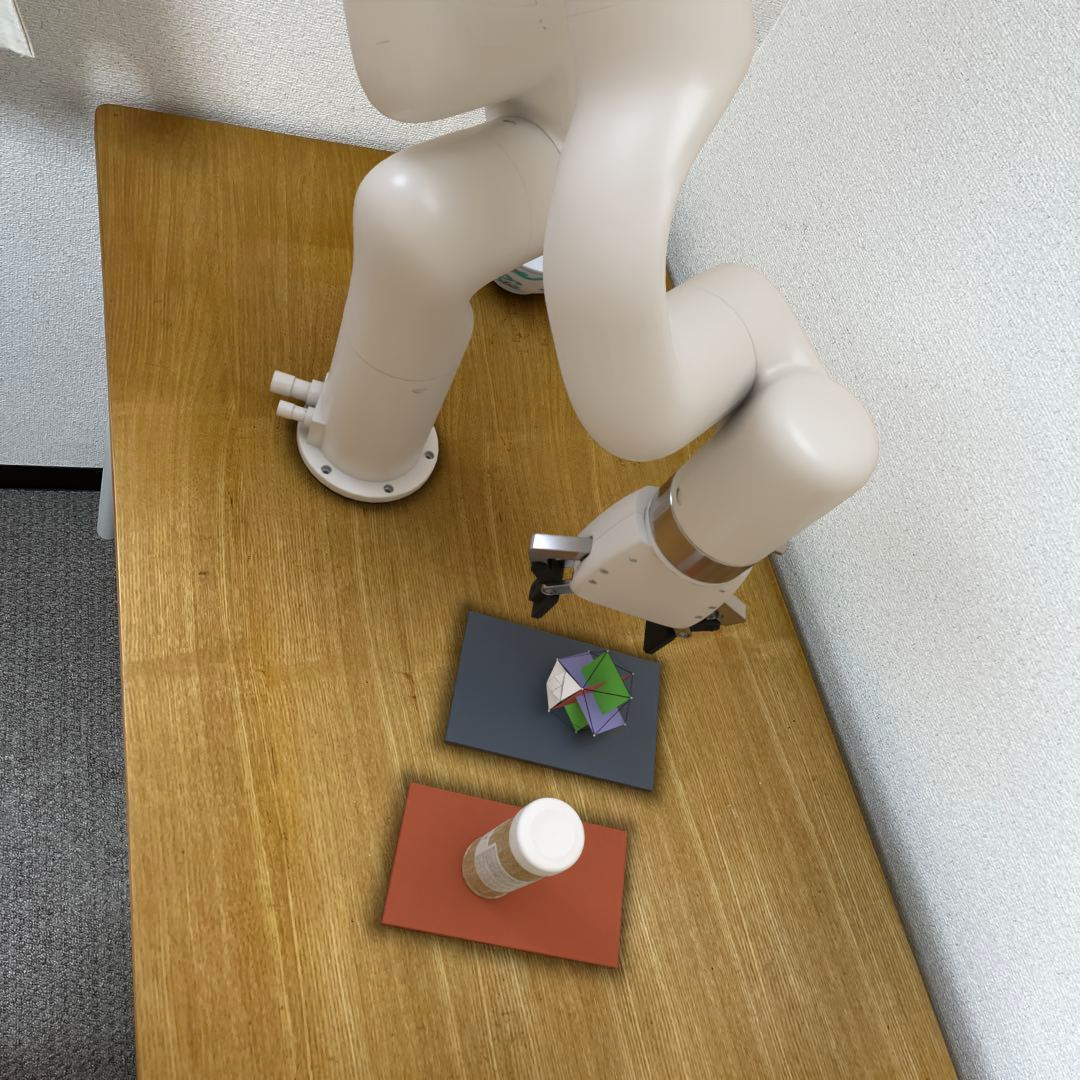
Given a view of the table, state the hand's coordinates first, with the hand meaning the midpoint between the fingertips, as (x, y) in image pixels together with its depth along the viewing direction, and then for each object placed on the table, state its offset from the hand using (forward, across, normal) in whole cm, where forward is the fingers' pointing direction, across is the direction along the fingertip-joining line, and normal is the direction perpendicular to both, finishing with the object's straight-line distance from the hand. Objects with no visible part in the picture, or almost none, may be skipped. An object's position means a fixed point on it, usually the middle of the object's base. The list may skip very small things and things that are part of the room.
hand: (593, 619), depth 71 cm
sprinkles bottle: (+8, +3, +19) cm, 20 cm away
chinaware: (+10, +10, -43) cm, 46 cm away
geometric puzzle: (+8, -3, +4) cm, 9 cm away
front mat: (+8, +1, +19) cm, 20 cm away
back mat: (+8, -1, +4) cm, 9 cm away
